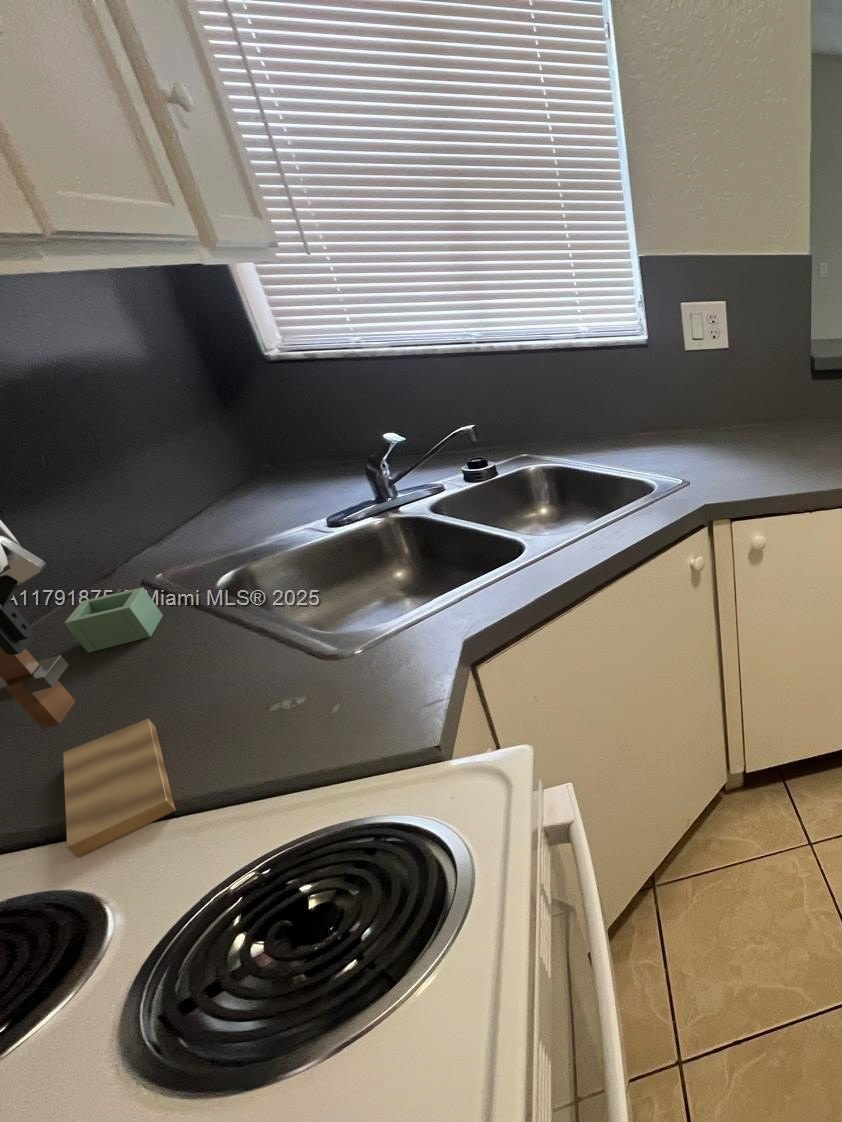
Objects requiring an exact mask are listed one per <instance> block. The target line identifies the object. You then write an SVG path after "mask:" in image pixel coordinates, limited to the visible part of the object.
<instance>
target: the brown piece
mask: <svg viewBox="0 0 842 1122" xmlns="http://www.w3.org/2000/svg"><path fill="white" fill-rule="evenodd" d="M68 667H69V663H68V662H67V661H66V659H65V658H63V656H62V655H55V656H51V657H48V658H44V659H40V660H36V659H35V657H34V656H33V655H32V654H31V653H30V652H29V651H28V649H27V647H26V648H25V649H24V650H23V651H22V653H19V654H15V655H10V654H6V653H5V652H4V650H3V649H2V648H1V647H0V702H2V701H6V700H9V699H14V700H15V701H16V702H17V703H18V704H19V705H20V707H22V709H23V710H24V711H25V712H26V713H27V714H28V715H29V716H30V718H31V719H33V720H34V722H35V723H36V724H37V725H38V726H39V727H40V728H41V729H42V730H45V729H49V728H52V727H56V726H59V725H61V724H62V722H63V720H64V719H65V717H66V716H67V714H68V713H69V711H70V710H71V708H72V707H73V705H74V704H75V703H76V700H75V698H74V697H73V696H72V695H71V694H70V692H69V691H68V690H67V688H65V687H64V686H63V685H62V683H61V682H60V681H59V679H60V678H61V676H62V675H63V673H64V672H65V671H66V670H67V669H68Z"/></svg>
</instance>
